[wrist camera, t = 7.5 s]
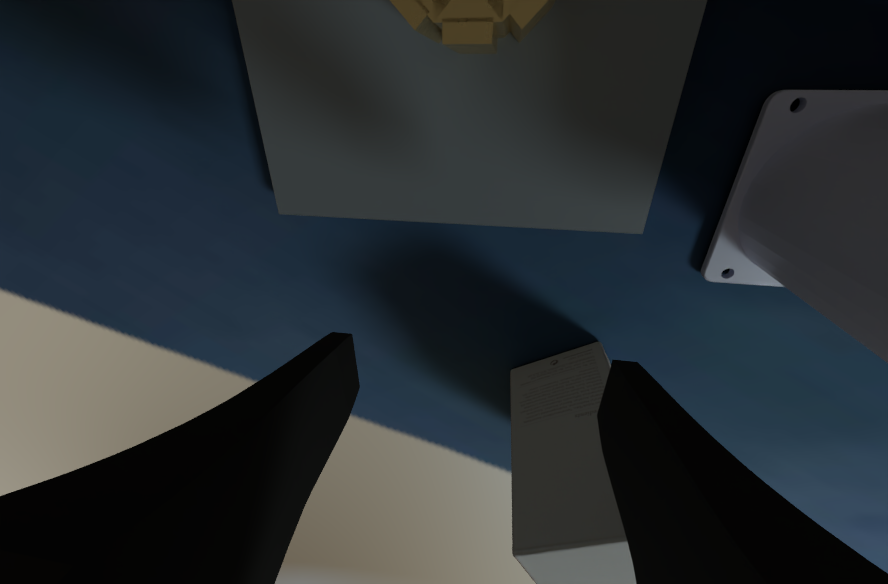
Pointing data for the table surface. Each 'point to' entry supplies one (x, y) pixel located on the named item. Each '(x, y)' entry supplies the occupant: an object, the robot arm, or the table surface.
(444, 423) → the table surface
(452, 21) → the brass gear
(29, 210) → the table surface
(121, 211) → the table surface
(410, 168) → the gear board
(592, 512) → the small box
